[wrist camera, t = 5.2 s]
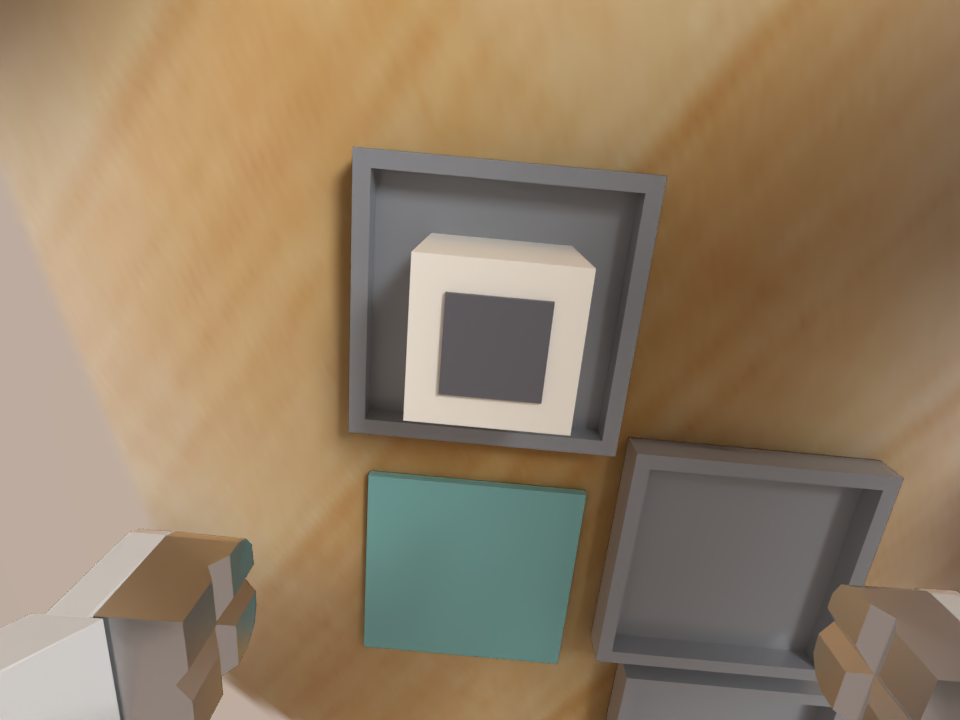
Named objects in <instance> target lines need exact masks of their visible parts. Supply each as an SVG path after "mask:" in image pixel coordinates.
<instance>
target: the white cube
mask: <svg viewBox="0 0 960 720" xmlns="http://www.w3.org/2000/svg"><path fill="white" fill-rule="evenodd" d="M595 272H596V268H595V267H594V266H593V265H592V264H591V263H590V262H588V261H587V260H586V259H585V258H584V257H583V256H582V255H581V254H580V253H579V252H578V251H577V250H576V249H575V248H574V247H573V246H568V245H558V244H547V243H536V242H525V241H514V240H503V239H493V238H482V237H471V236H460V235H449V234H438V233H431V234H430V235H429V236H428V237H427V238H425V239H424V240H423V241H422V242H421V243H420V244H419V245H418V246H417V247H416V248H415V249H414V250H413V251H412V252H411V270H410V291H409V312H408V332H407V353H406V374H405V395H404V415H403V420H404V421H415V422H426V423H437V424H448V425H459V426H469V427H480V428H491V429H502V430H513V431H524V432H535V433H546V434H557V435H568V436H570V434H571V428H572V421H573V415H574V408H575V402H576V395H577V389H578V382H579V376H580V370H581V363H582V357H583V350H584V344H585V337H586V331H587V324H588V318H589V311H590V305H591V298H592V292H593V285H594V279H595Z"/></svg>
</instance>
